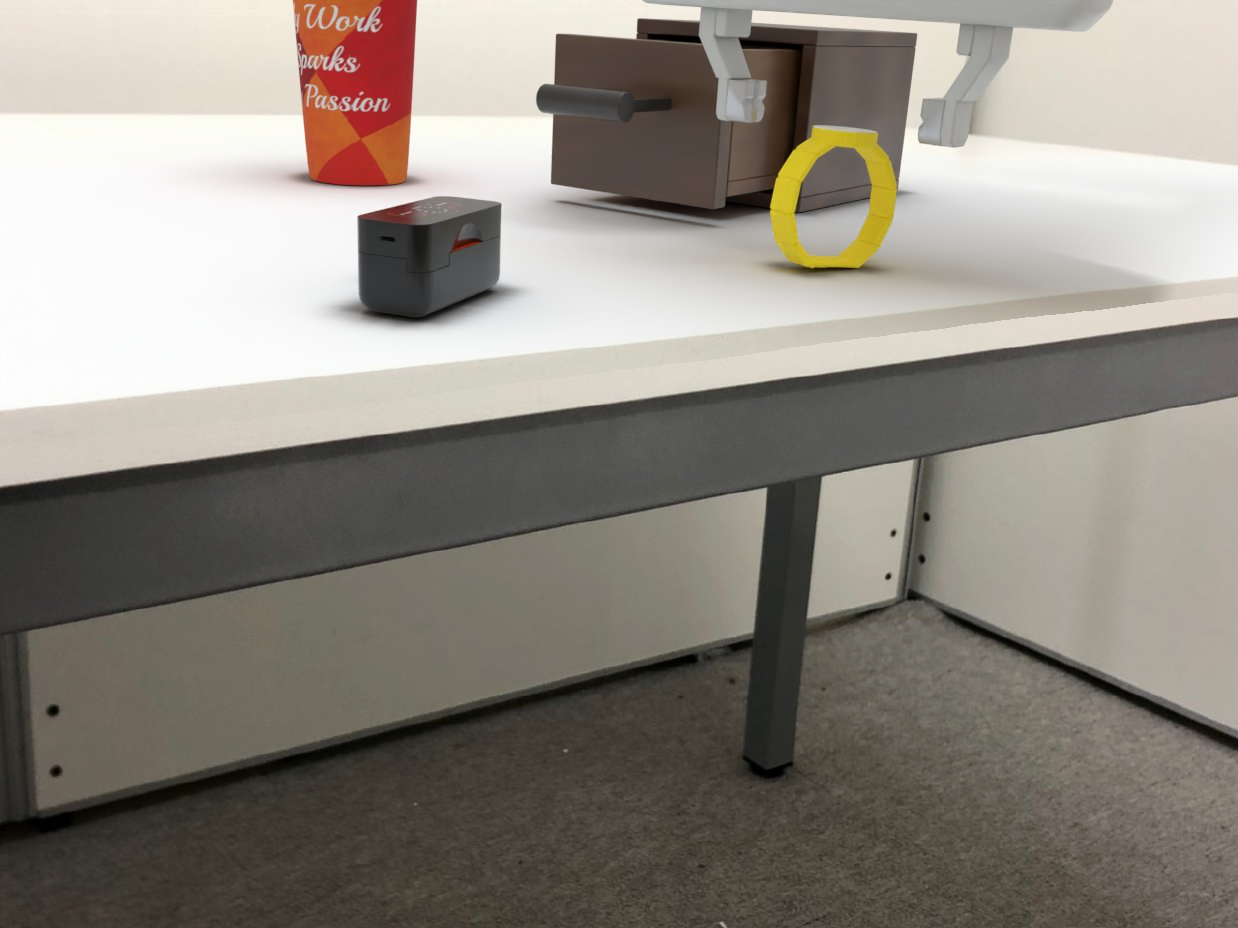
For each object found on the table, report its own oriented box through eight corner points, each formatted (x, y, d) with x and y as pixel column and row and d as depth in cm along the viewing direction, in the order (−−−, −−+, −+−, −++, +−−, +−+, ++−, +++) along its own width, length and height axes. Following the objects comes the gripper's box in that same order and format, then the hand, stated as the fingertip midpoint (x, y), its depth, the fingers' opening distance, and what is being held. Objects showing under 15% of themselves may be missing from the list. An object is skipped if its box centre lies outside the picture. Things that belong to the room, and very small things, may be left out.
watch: (793, 278, 53) (808, 132, 51) (753, 265, 55) (765, 124, 53) (899, 269, 56) (917, 131, 54) (857, 257, 58) (873, 124, 56)
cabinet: (799, 212, 70) (817, 30, 67) (627, 187, 76) (636, 18, 73) (897, 191, 81) (918, 33, 77) (740, 170, 87) (752, 22, 83)
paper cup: (261, 176, 72) (249, -91, 67) (354, 166, 78) (350, -80, 73) (364, 193, 68) (360, -89, 64) (454, 181, 75) (456, -77, 70)
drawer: (659, 219, 60) (671, 46, 57) (491, 191, 65) (494, 32, 63) (824, 188, 73) (839, 47, 71) (673, 168, 79) (682, 36, 76)
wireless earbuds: (514, 285, 49) (516, 200, 48) (423, 323, 42) (423, 226, 41) (407, 270, 50) (407, 188, 49) (304, 305, 44) (301, 211, 43)
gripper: (1180, -232, 46) (1106, 157, 51) (700, -212, 57) (676, 108, 61) (1135, -268, 41) (1058, 167, 46) (619, -239, 52) (599, 111, 56)
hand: (835, 133), depth 54 cm, fingers open, 8 cm apart
